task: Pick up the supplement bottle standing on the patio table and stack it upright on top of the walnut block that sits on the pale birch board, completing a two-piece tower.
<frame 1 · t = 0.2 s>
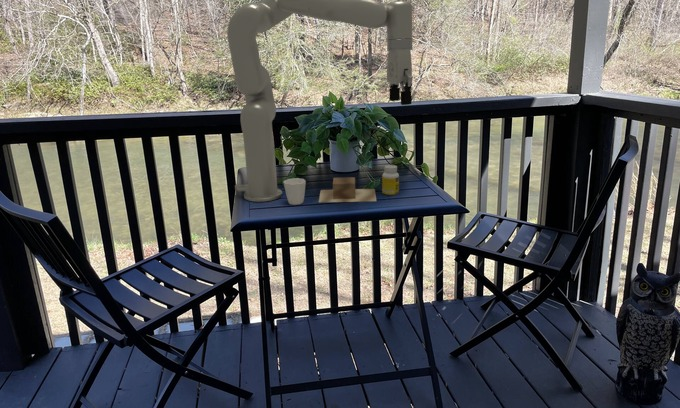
hand: (400, 102, 164), 30 cm above the table, tool pointing down, fingers open, 9 cm apart
supplement bottle: (390, 196, 172), on the table
block: (344, 195, 170), point 1 cm above the table, touching board
board: (347, 198, 170), on the table
cup: (296, 205, 166), on the table
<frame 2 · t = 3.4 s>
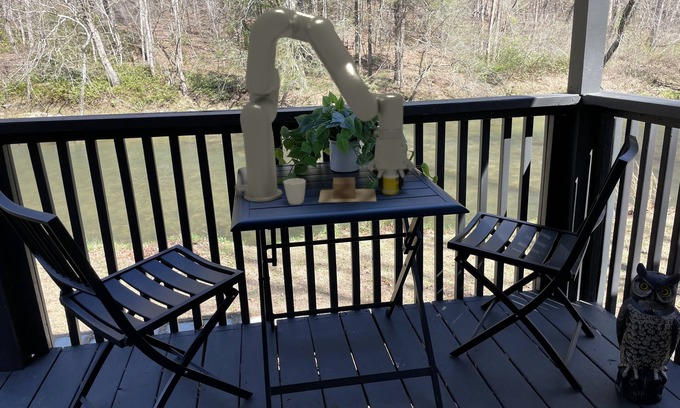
hand: (390, 188, 171), 3 cm above the table, tool pointing down, fingers closed on supplement bottle, 5 cm apart
supplement bottle: (390, 196, 172), on the table, touching gripper
everything else where it was.
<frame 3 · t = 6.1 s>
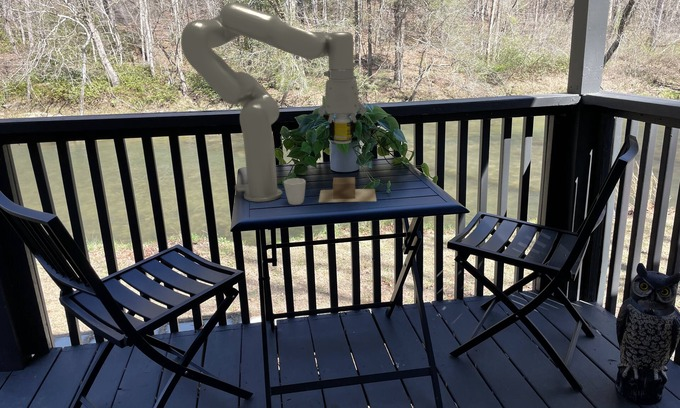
hand: (342, 134, 163), 21 cm above the table, tool pointing down, fingers closed on supplement bottle, 5 cm apart
supplement bottle: (342, 142, 164), point 18 cm above the table, touching gripper
everything else where it was.
when the fingers open (10 cm above the table, at t = 8.9 s): supplement bottle drops 1 cm, resting on block.
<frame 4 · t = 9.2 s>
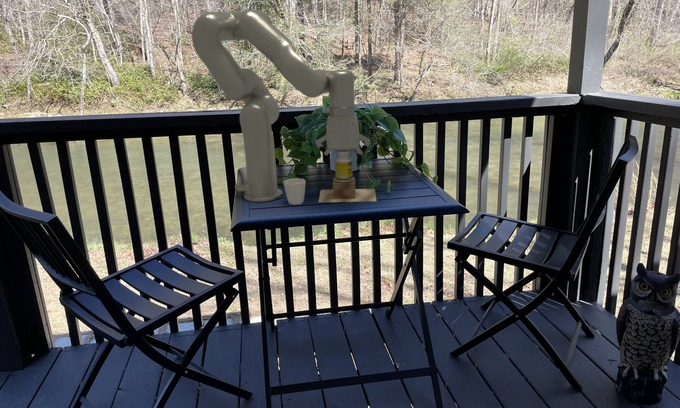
hand: (343, 166, 167), 11 cm above the table, tool pointing down, fingers open, 9 cm apart
supplement bottle: (344, 181, 168), point 6 cm above the table, touching block
block: (344, 195, 170), point 1 cm above the table, touching board, supplement bottle
everything else where it was.
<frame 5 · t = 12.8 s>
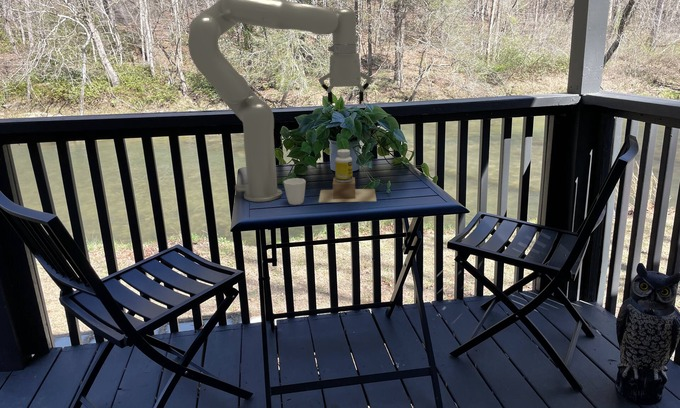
hand: (345, 103, 174), 28 cm above the table, tool pointing down, fingers open, 9 cm apart
nothing on the table moved.
at the end: supplement bottle 0.1 cm from the block (horizontally); supplement bottle point 5.8 cm above the table; supplement bottle tilted 0° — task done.
